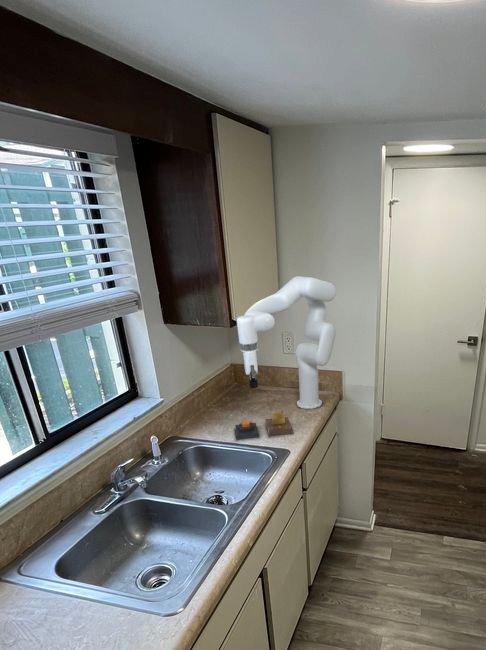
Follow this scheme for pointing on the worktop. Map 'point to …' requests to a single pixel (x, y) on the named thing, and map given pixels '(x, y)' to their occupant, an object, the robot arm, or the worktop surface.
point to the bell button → (245, 423)
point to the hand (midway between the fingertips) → (254, 387)
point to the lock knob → (278, 418)
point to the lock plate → (278, 428)
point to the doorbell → (246, 431)
